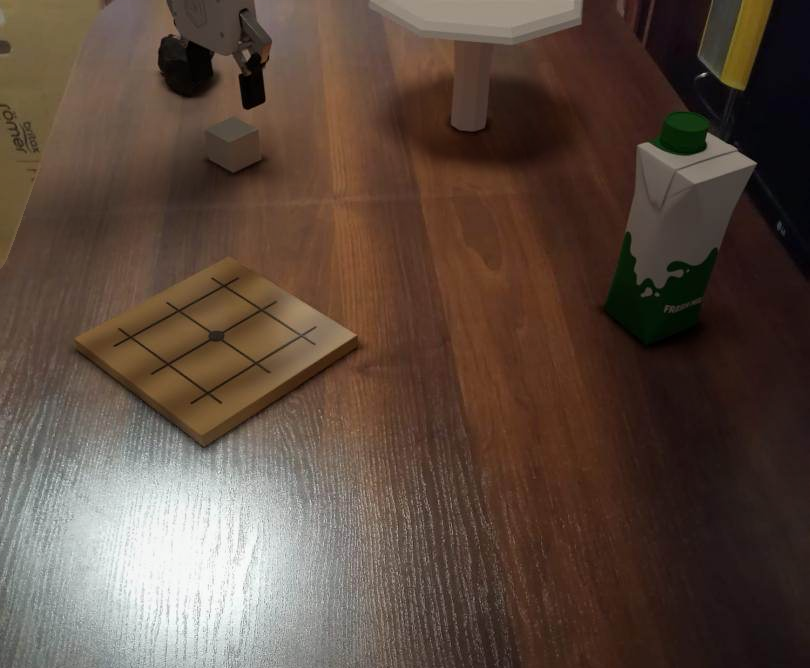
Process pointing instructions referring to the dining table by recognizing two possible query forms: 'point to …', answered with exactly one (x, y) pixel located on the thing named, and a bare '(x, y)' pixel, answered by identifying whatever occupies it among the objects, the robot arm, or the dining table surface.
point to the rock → (175, 64)
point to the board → (216, 348)
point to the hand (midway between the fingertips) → (228, 92)
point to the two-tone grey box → (233, 144)
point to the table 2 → (478, 38)
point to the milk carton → (675, 226)
